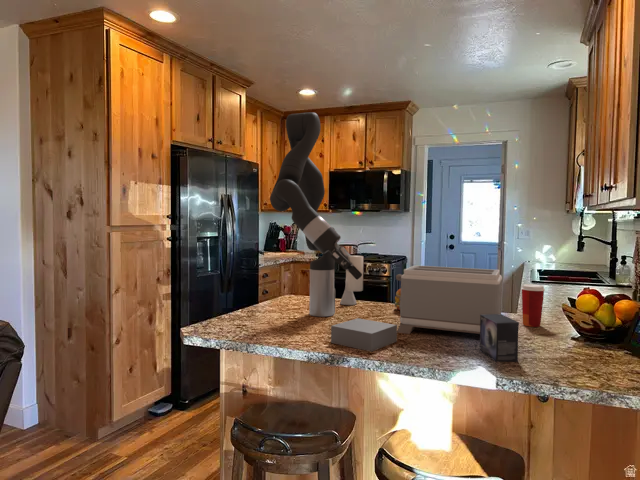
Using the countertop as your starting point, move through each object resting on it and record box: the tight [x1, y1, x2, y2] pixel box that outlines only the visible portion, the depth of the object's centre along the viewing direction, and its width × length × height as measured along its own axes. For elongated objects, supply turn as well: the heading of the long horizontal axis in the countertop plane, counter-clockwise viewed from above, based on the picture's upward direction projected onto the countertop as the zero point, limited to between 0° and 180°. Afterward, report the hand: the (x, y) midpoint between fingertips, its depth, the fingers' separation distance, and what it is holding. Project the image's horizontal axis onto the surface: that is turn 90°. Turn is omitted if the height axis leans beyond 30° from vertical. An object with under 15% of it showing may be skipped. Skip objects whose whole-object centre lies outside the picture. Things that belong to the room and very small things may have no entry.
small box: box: [479, 313, 520, 363], centre depth 128 cm, size 11×6×10 cm, turn 5°
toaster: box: [395, 265, 503, 335], centre depth 155 cm, size 19×34×20 cm, turn 66°
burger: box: [394, 288, 401, 311], centre depth 189 cm, size 13×14×10 cm
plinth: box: [330, 317, 398, 353], centre depth 140 cm, size 14×14×5 cm
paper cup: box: [520, 283, 546, 328], centre depth 165 cm, size 8×8×14 cm
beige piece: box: [345, 255, 364, 292], centre depth 140 cm, size 5×5×10 cm
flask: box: [339, 280, 358, 306], centre depth 202 cm, size 7×7×10 cm
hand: (360, 276), depth 139 cm, fingers closed on beige piece, 5 cm apart
